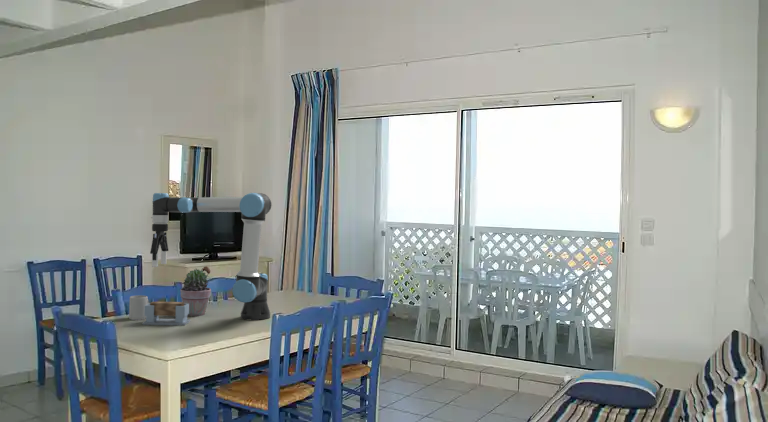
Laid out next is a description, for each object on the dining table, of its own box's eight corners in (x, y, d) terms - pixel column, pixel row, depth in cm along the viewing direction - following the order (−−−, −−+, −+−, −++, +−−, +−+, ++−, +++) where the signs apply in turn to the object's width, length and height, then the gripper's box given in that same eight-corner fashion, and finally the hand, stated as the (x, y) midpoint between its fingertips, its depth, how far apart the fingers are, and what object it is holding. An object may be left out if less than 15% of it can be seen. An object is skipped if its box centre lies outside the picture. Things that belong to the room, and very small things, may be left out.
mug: (140, 320, 308) (140, 298, 308) (125, 319, 310) (125, 297, 310) (154, 316, 320) (155, 294, 320) (140, 315, 322) (140, 293, 322)
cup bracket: (190, 321, 309) (190, 303, 309) (184, 325, 299) (184, 306, 299) (149, 320, 308) (149, 302, 308) (142, 324, 298) (142, 306, 298)
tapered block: (183, 314, 306) (184, 302, 306) (181, 316, 302) (181, 303, 302) (153, 313, 306) (153, 301, 306) (149, 315, 301) (150, 303, 301)
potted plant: (167, 315, 321) (168, 267, 321) (192, 310, 339) (193, 264, 339) (195, 319, 315) (196, 270, 314) (219, 313, 333) (220, 266, 332)
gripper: (160, 222, 327) (159, 262, 327) (144, 224, 302) (143, 267, 302) (174, 222, 327) (174, 262, 327) (159, 224, 302) (158, 268, 302)
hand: (159, 265), depth 315 cm, fingers open, 13 cm apart
